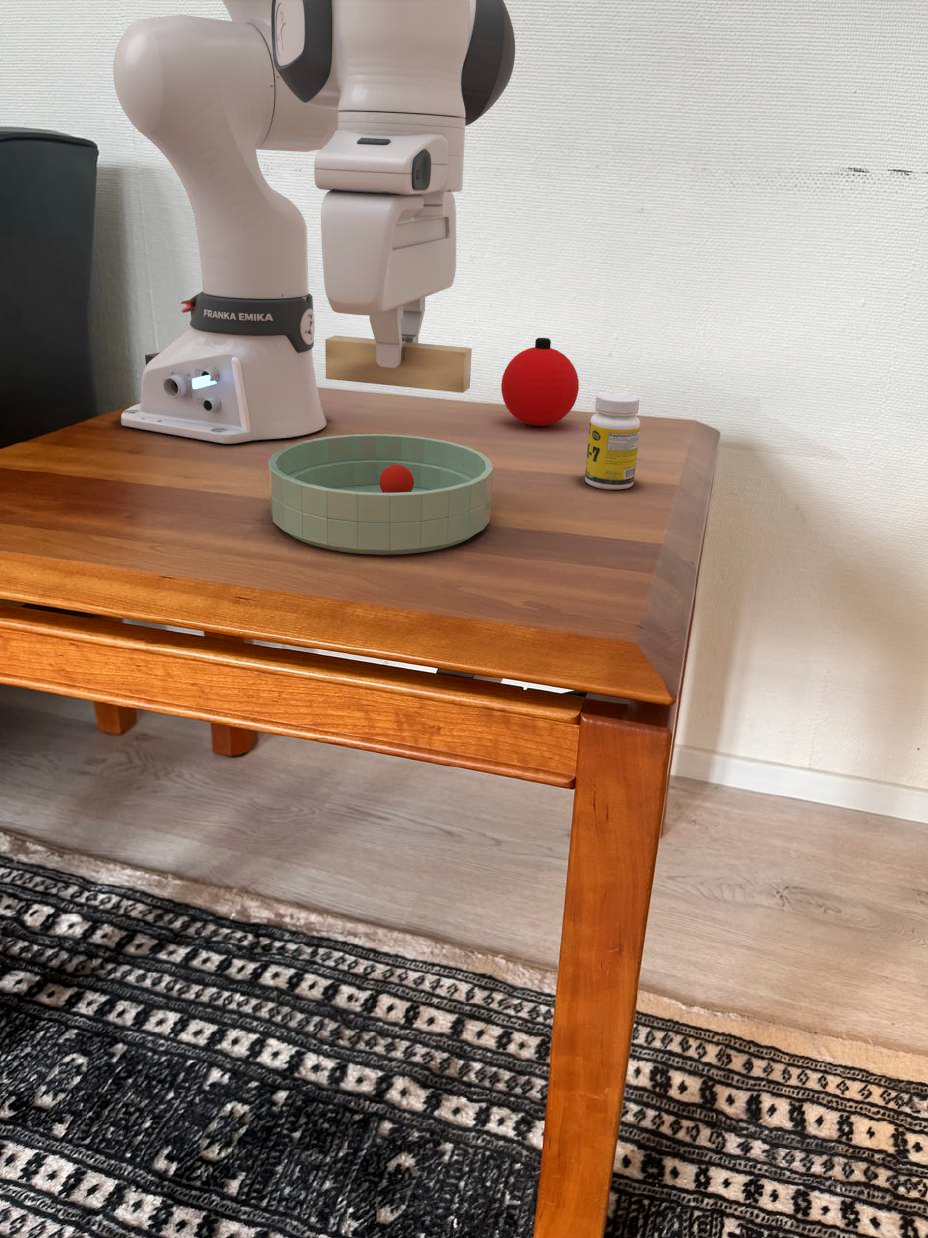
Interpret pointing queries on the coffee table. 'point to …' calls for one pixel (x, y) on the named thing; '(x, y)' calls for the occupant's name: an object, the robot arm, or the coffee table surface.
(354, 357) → the block
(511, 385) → the ornament
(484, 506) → the bowl
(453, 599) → the coffee table surface
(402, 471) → the ball
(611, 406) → the supplement bottle
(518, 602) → the coffee table surface
